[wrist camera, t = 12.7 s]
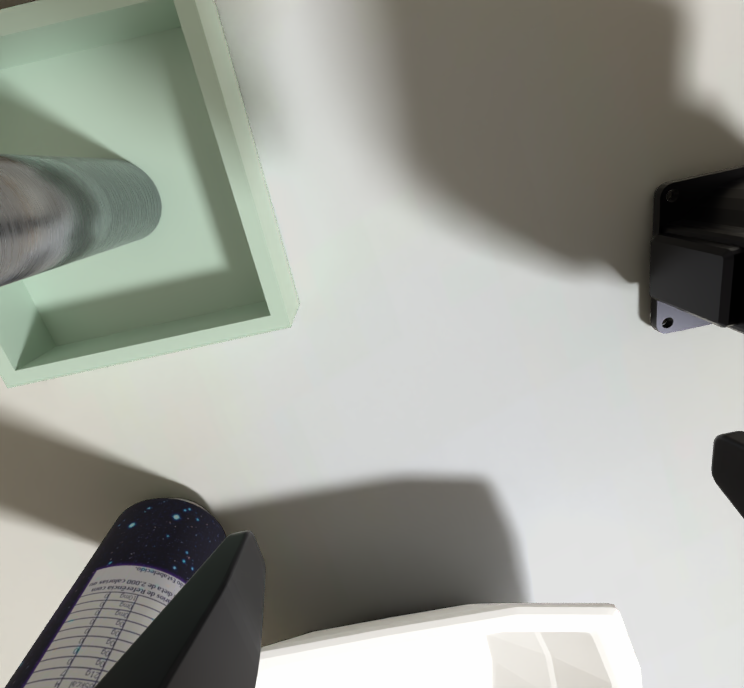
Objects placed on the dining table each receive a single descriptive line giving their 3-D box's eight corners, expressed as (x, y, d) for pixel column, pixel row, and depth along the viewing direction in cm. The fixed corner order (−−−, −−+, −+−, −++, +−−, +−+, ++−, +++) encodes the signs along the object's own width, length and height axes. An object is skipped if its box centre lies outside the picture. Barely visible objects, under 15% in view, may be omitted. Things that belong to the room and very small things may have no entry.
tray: (215, 3, 15) (184, -36, 12) (299, 303, 19) (291, 327, 16) (-87, 76, 16) (-185, 54, 13) (57, 356, 20) (7, 388, 17)
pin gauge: (143, 150, 16) (-128, 125, 7) (173, 232, 17) (-27, 304, 8) (64, 168, 16) (-304, 168, 7) (100, 248, 18) (-180, 339, 8)
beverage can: (100, 501, 23) (-142, 824, 11) (206, 473, 22) (62, 777, 11) (150, 580, 25) (-15, 919, 13) (247, 555, 24) (161, 882, 13)
